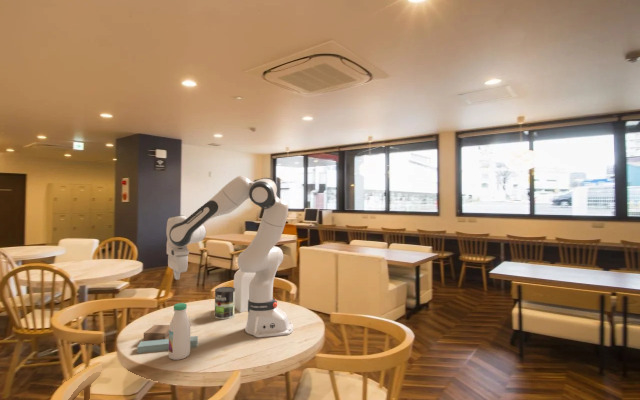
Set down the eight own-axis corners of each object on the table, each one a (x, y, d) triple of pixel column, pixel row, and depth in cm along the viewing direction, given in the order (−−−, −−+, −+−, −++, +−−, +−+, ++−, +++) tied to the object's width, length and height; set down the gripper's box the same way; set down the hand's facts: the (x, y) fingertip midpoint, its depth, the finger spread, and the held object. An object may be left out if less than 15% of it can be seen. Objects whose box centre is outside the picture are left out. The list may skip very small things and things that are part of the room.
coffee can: (227, 320, 163) (227, 292, 163) (210, 317, 166) (210, 290, 167) (238, 313, 173) (238, 287, 173) (222, 311, 176) (222, 285, 176)
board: (197, 342, 138) (197, 335, 138) (196, 348, 133) (196, 340, 133) (140, 348, 132) (140, 341, 132) (137, 354, 127) (137, 346, 127)
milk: (259, 308, 182) (260, 262, 182) (240, 312, 175) (241, 264, 175) (250, 303, 192) (251, 259, 192) (232, 306, 185) (232, 261, 185)
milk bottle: (193, 351, 130) (193, 301, 130) (185, 360, 122) (186, 307, 122) (173, 351, 129) (174, 301, 129) (165, 360, 122) (165, 307, 122)
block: (174, 336, 144) (174, 325, 144) (164, 345, 135) (165, 333, 135) (154, 336, 144) (154, 324, 144) (143, 344, 135) (143, 333, 135)
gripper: (164, 248, 158) (164, 276, 158) (175, 252, 142) (175, 284, 142) (178, 247, 162) (178, 274, 162) (190, 251, 146) (190, 281, 146)
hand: (177, 279), depth 152 cm, fingers closed
